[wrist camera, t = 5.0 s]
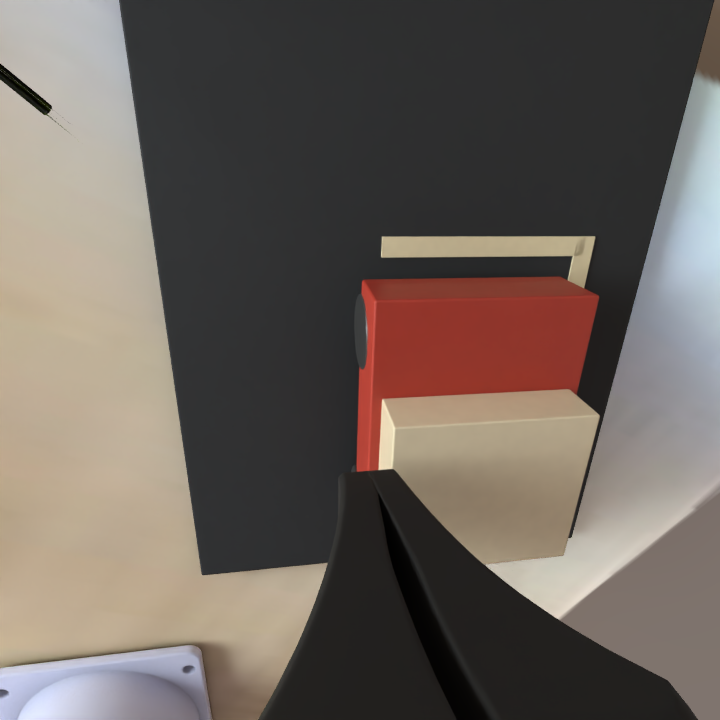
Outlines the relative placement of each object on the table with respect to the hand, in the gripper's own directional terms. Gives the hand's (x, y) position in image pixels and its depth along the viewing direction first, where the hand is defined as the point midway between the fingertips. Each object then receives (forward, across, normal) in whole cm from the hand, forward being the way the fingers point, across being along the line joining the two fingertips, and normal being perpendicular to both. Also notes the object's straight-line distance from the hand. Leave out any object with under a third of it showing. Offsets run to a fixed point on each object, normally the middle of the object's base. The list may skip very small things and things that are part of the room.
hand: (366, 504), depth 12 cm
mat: (+5, -2, -3) cm, 7 cm away
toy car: (+3, 0, 0) cm, 3 cm away
